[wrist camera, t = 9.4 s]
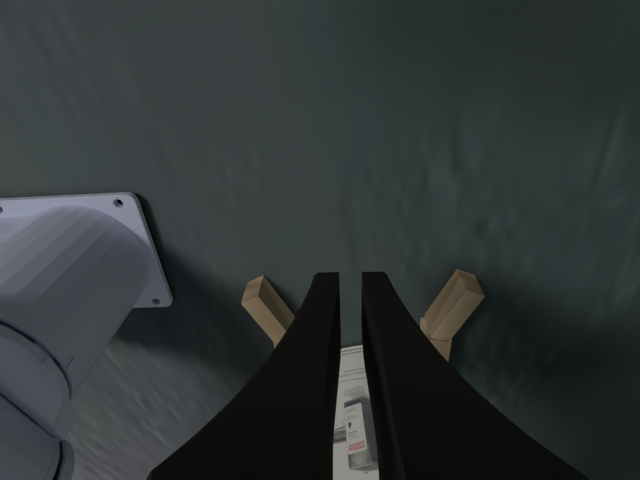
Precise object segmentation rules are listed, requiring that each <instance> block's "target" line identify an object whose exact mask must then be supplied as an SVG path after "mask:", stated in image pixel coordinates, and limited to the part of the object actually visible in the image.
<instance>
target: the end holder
mask: <svg viewBox="0 0 640 480" xmlns="http://www.w3.org/2000/svg"><path fill="white" fill-rule="evenodd" d="M484 297H485V295H484V293H483V291H482V289H481V287H480V285H479V283H478V281H477V279H476V277H475V275H473V274H470V273H468V272H465V271H462V270H459V269H457V270H456V271H455V272H454V274H453V275H452V277H451V278H450V279H449V281H448V282H447V284H446V285H445V286H444V288H443V289H442V291H441V292H440V293H439V295H438V296H437V298H436V299H435V300H434V302H433V303H432V305H431V306H430V307H429V309H428V310H427V312H426V313H425V314H424V315H425V317H422V318H421V321H420V329H421V330H422V331H423V333H424V334H425V335H426V337H427V338H428V339H429V340H430V342H431V343H432V344H433V345H434V346H435V348H436V349H437V350H438V351H439V352H440V354H441V355H442V356H443V357H444V358H445V359H446V360H447V361H448V362H449V355H450V348H451V341H452V339H451V338H452V337H453V336H454V335H455V333H456V332H457V331H458V330H459V328H460V327H461V326H462V325H463V323H464V322H465V321H466V320H467V318H468V317H469V316H470V315H471V313H472V312H473V311H474V310H475V308H476V307H477V306H478V305H479V303H480V302H481V301H482V300H483V298H484ZM241 304H242V305H243V307H244V308H245V309H246V310H247V311H248V312H249V314H250V315H251V316H252V317H253V318H254V320H255V321H256V322H257V323H258V324H259V325H260V327H261V328H262V329H263V330H264V331H265V333H266V334H267V335H268V336H269V337H270V338H271V340H272V341H273V342H274V349H275V347H276V346H277V344H278V343H279V341H280V340H281V338H282V337H283V335H284V334H285V332H286V331H287V329H288V328H289V326H290V324H291V323H292V321H293V319H294V318H295V316H294V314H293V313H292V312H291V310H290V309H289V308H288V307H287V305H286V304H285V303H284V301H283V300H282V299H281V297H280V296H279V295H278V294H277V292H276V291H275V290H274V288H273V287H272V286H271V285H270V283H269V282H268V281H267V279H266V278H265V277H264V275H263V276H261V277H258V278H256V279H254V280H252V281H249V282H248V283H247V286H246V289H245V292H244V295H243V298H242V301H241Z"/></svg>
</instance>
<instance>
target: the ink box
mask: <svg viewBox="0 0 640 480" xmlns="http://www.w3.org/2000/svg"><path fill="white" fill-rule="evenodd" d="M333 480H379V470H378V456H377V444H376V435H375V428H374V421H373V415H372V409H371V403H370V396H369V390H368V384H367V378H366V371H365V365H364V358H363V345H358V346H352V347H347V348H342V349H341V360H340V371H339V382H338V393H337V404H336V414H335V425H334V441H333Z"/></svg>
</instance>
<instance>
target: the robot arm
mask: <svg viewBox="0 0 640 480" xmlns="http://www.w3.org/2000/svg"><path fill="white" fill-rule="evenodd" d="M117 199H119V200H121V201H122V203H123V205H122V204H120V203H118V201H117ZM0 207H1V208H2V209H3V210H2V209H1V208H0V480H71V478H72V474H73V470H74V463H75V459H74V452H73V449H72V446H71V445H70V444H69V443H68V442H67V440H65V437H66V435H67V434H68V432H69V431H70V429H71V427H72V426H73V424H74V423H75V421H76V419H77V418H78V416H79V415H78V413H77V412H76V411H75V410H74V409H73V407H72V406H71V404H70V401H71V399H72V398H73V396H74V395H75V393H76V392H77V390H78V389H79V387H80V386H81V384H82V383H83V381H84V380H85V378H86V377H87V375H88V374H89V372H90V371H91V369H92V368H93V366H94V365H95V363H96V362H97V360H98V359H99V357H100V356H101V355H102V353H103V352H104V350H105V349H106V347H107V346H108V344H109V343H110V341H111V340H112V338H113V337H114V335H115V334H116V332H117V331H118V329H119V328H120V326H121V325H122V323H123V322H124V320H125V319H126V317H127V316H128V314H129V313H130V311H131V310H132V308H146V307H168V306H170V305H171V303H172V301H173V297H172V294H171V291H170V288H169V285H168V282H167V280H166V277H165V274H164V271H163V268H162V265H161V262H160V260H159V257H158V254H157V251H156V248H155V245H154V242H153V240H152V237H151V234H150V231H149V228H148V225H147V222H146V219H145V217H144V214H143V211H142V208H141V205H140V202H139V200H138V198H137V196H136V195H134V194H133V193H130V192H118V193H98V194H78V195H58V196H39V197H19V198H0ZM155 299H158V300H159V301H157V300H155ZM362 344H363V358H364V365H365V371H366V378H367V384H368V390H369V396H370V403H371V409H372V415H373V421H374V428H375V435H376V444H377V456H378V470H379V480H589V479H588V478H587V477H586V476H584V475H583V474H581V473H580V472H579V471H577V470H576V469H574V468H573V467H572V466H570V465H569V464H567V463H566V462H564V461H563V460H562V459H560V458H559V457H557V456H556V455H555V454H553V453H552V452H550V451H549V450H548V449H546V448H545V447H543V446H542V445H541V444H539V443H538V442H536V441H535V440H534V439H532V438H531V437H530V436H529V435H527V434H526V433H525V432H524V431H522V430H521V429H520V428H519V427H517V426H516V425H515V424H514V423H512V422H511V421H510V420H509V419H508V418H506V417H505V416H504V415H503V414H502V413H501V412H500V411H499V410H497V409H496V408H495V407H494V406H493V405H492V404H491V403H489V402H488V401H487V400H486V399H485V398H484V397H483V396H482V395H480V394H479V393H478V392H477V391H476V390H475V389H474V388H473V387H472V386H471V385H470V384H469V383H468V382H467V381H466V380H465V379H464V378H463V377H462V376H461V375H460V374H459V373H458V372H457V371H456V370H455V369H454V368H453V367H452V366H451V365H450V364H449V363H448V361H447V360H446V359H445V358H444V357H443V356H442V355H441V354H440V352H439V351H438V350H437V349H436V348H435V346H434V345H433V344H432V343H431V342H430V340H429V339H428V338H427V337H426V335H425V334H424V333H423V331H422V330H421V329H420V327H419V326H418V325H417V323H416V322H415V320H414V319H413V318H412V316H411V315H410V313H409V312H408V310H407V309H406V308H405V306H404V304H403V303H402V301H401V300H400V298H399V296H398V295H397V293H396V291H395V290H394V288H393V286H392V284H391V282H390V280H389V278H388V276H387V274H385V273H384V272H362ZM340 360H341V328H340V293H339V272H328V273H317V274H316V275H315V276H314V278H313V281H312V284H311V286H310V289H309V291H308V293H307V295H306V297H305V299H304V301H303V303H302V305H301V307H300V309H299V311H298V312H297V314H296V316H295V318H294V319H293V321H292V323H291V324H290V326H289V328H288V329H287V331H286V332H285V334H284V335H283V337H282V338H281V340H280V341H279V343H278V344H277V346H276V347H275V349H274V350H273V351H272V353H271V354H270V355H269V357H268V358H267V359H266V361H265V362H264V363H263V364H262V366H261V367H260V368H259V370H258V371H257V372H256V373H255V374H254V375H253V377H252V378H251V379H250V380H249V381H248V382H247V383H246V385H245V386H244V387H243V388H242V389H241V390H240V391H239V392H238V394H237V395H236V396H235V397H234V398H233V399H232V400H231V401H230V402H229V403H228V404H227V405H226V406H225V407H224V408H223V409H222V410H221V411H220V412H219V413H218V414H217V415H216V416H214V417H213V418H212V419H211V420H210V421H209V422H208V423H207V424H206V425H205V426H204V427H203V428H202V429H201V430H200V431H199V432H198V433H196V434H195V435H194V436H193V437H192V438H191V439H190V440H188V441H187V442H186V443H185V444H184V445H182V446H181V447H180V448H179V449H178V450H176V451H175V452H174V453H173V454H171V455H170V456H169V457H168V458H167V459H165V460H164V461H163V462H162V463H161V464H159V465H158V466H157V467H156V468H154V469H153V470H152V471H151V472H150V474H149V476H148V478H147V479H146V480H333V441H334V425H335V414H336V404H337V393H338V382H339V371H340Z"/></svg>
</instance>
